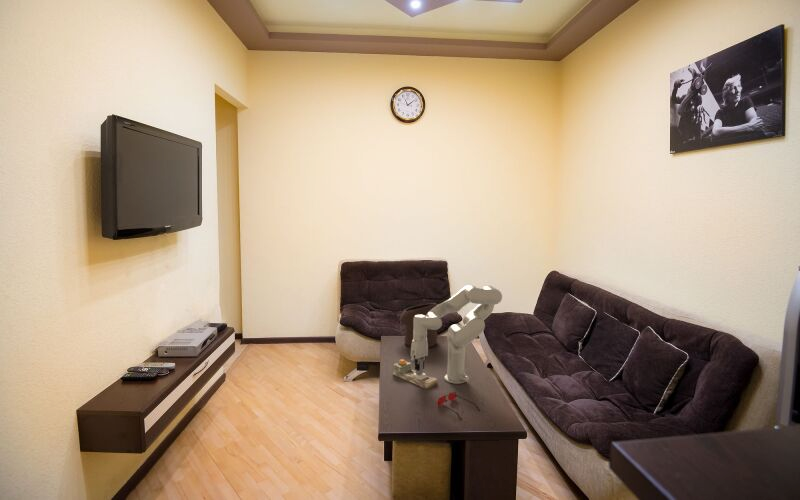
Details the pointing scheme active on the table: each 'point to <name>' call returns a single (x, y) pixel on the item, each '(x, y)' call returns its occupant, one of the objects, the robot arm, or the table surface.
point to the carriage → (420, 371)
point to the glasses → (451, 397)
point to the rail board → (407, 374)
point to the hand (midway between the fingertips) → (419, 368)
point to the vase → (408, 321)
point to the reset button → (402, 362)
